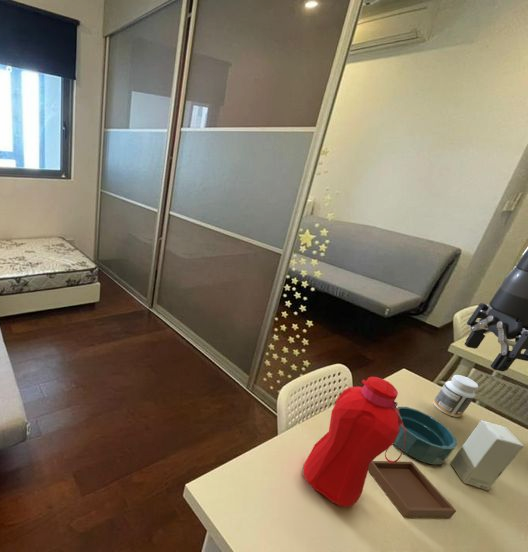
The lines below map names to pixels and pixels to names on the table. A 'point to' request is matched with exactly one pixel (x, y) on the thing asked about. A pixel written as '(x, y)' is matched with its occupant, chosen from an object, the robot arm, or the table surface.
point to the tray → (410, 490)
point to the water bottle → (354, 440)
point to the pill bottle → (456, 395)
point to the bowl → (424, 437)
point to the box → (486, 454)
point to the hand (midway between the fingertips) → (482, 357)
